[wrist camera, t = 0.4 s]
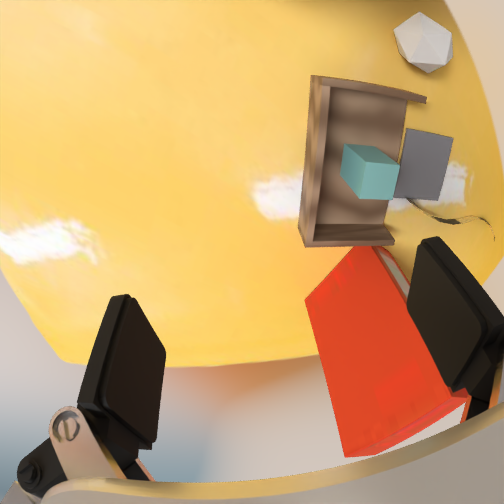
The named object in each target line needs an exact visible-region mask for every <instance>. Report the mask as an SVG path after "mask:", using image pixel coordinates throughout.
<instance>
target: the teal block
mask: <svg viewBox="0 0 504 504" xmlns="http://www.w3.org/2000/svg"><path fill="white" fill-rule="evenodd" d="M399 168H400V165H399V164H398V163H396V162H395V161H394V160H392V159H391V158H390V157H388V156H387V155H386V154H384V153H383V152H382V151H380V150H379V149H378V148H376V147H375V146H366V145H356V144H345V143H344V148H343V156H342V164H341V171H340V176H341V177H342V178H343V179H344V181H345V182H346V183H347V184H348V185H349V187H350V188H351V189H352V190H353V191H354V193H355V194H356V195H357V196H358V198H359V199H380V200H392V199H393V195H394V191H395V186H396V182H397V177H398V173H399Z"/></svg>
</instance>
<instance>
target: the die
mask: <svg viewBox="0 0 504 504" xmlns="http://www.w3.org/2000/svg"><path fill="white" fill-rule="evenodd" d="M393 30H394V34H395V38H396V42H397V46H398V50H399V53H400V54H401V55H402V56H403V57H404V58H405V59H406V60H407V61H408V62H410V63H411V64H413V65H415V66H417V67H418V68H420V69H422V70H423V71H425V72H427V73H430V72H432V71H434V70H436V69H438V68H440V67H442V66H444V65H446V64H447V63H448V62H449V61H450V59H451V58H452V57H453V49H452V33H451V32H449V31H448V30H447V29H445V28H444V27H442V26H441V25H439V24H438V23H436V22H435V21H433V20H432V19H430V18H429V17H427V16H425V15H424V14H422V13H421V12H418V13H416V14H415V15H413V16H412V17H410V18H409V19H407V20H406V21H405V22H403V23H402V24H400V25H399V26H398V27H396V28H395V29H393Z"/></svg>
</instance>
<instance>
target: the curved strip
mask: <svg viewBox="0 0 504 504" xmlns="http://www.w3.org/2000/svg"><path fill="white" fill-rule="evenodd" d="M404 197H405V196H404ZM405 198H406V197H405ZM406 199H407V200H408V201H409V202H410V203H411V204H412V205H413V206H415V207H416V208H417V209H419V210H420V211H422V210H421V209H420V208H419V207H417V206H416V205H415V204H414V203H413V202H412V201H411V200H409V199H408V198H406ZM422 212H423V213H425V212H424V211H422ZM425 214H427V213H425ZM427 215H429V214H427ZM429 216H430V217H432V218H434V219H436V220H437V221H439V222H443V223H448V224H453V225H454V224H460V223H466V222H469V221H472V220H475V219H480V220H484V219H482V218H479V217H475V216H468V217H464V218H460V219H448V220H446V219H442V218H438V217H433V216H431V215H429ZM484 221H485V220H484ZM485 222H487V221H485ZM487 223H488V222H487ZM488 224H489V223H488ZM489 226H490V224H489ZM490 228H491V230H492V227H491V226H490ZM492 233H493V230H492ZM493 235H494V233H493ZM494 239H495V237H494Z"/></svg>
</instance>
